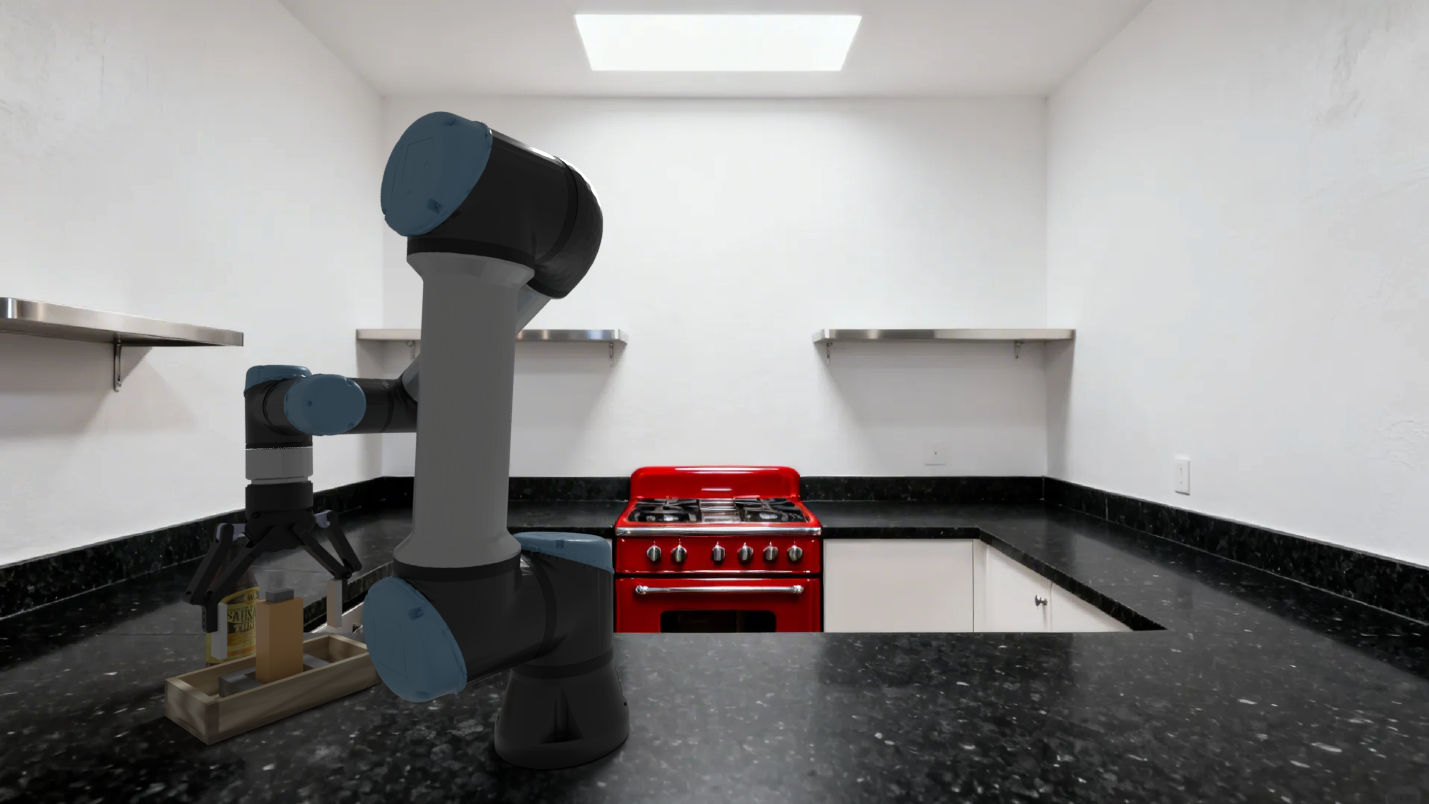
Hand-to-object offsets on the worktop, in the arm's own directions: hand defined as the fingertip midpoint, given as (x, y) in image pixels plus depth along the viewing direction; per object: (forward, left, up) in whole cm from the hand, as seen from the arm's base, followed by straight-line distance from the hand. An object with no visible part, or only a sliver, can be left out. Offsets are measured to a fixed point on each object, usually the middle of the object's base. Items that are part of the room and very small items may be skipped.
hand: (280, 640), depth 84 cm
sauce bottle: (+18, -1, -8) cm, 20 cm away
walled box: (0, 0, -8) cm, 8 cm away
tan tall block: (0, 0, -7) cm, 7 cm away
